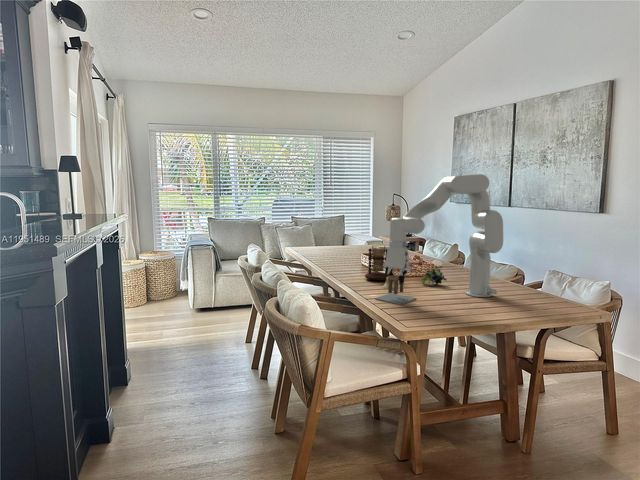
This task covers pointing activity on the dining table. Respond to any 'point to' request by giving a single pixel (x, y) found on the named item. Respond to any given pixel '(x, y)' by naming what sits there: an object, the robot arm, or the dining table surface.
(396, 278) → the walnut stool
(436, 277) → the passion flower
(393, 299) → the slate mat
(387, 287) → the hand bell
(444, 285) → the dining table surface
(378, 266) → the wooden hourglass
